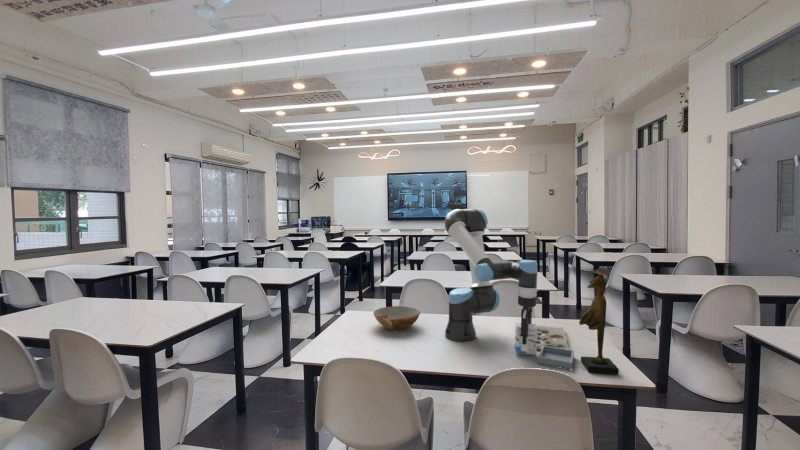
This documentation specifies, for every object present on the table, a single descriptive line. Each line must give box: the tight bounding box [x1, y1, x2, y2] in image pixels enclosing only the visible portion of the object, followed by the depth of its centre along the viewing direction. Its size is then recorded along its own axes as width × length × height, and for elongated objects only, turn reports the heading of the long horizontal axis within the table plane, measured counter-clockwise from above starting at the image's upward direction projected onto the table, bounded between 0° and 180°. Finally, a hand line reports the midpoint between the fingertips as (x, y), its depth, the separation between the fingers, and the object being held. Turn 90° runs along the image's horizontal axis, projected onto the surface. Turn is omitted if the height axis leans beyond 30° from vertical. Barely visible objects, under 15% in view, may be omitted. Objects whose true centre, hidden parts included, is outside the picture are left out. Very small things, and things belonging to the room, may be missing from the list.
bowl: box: [373, 305, 421, 331], centre depth 198 cm, size 25×25×8 cm
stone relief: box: [536, 325, 570, 351], centre depth 178 cm, size 32×3×20 cm
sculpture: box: [578, 267, 620, 375], centre depth 146 cm, size 13×11×40 cm
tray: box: [537, 345, 575, 370], centre depth 154 cm, size 13×14×3 cm
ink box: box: [514, 322, 538, 355], centre depth 160 cm, size 9×5×12 cm, turn 80°
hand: (525, 348), depth 160 cm, fingers closed on ink box, 6 cm apart
